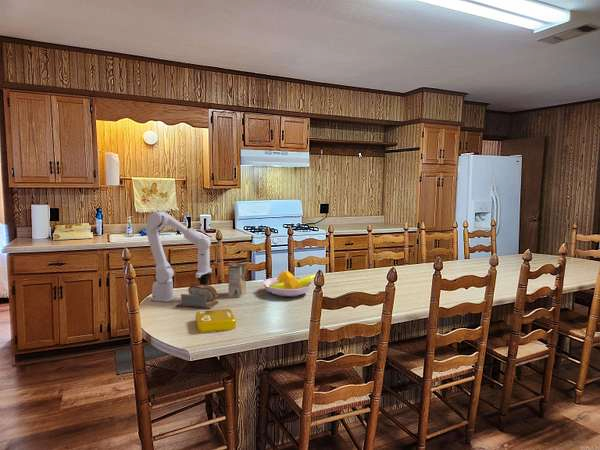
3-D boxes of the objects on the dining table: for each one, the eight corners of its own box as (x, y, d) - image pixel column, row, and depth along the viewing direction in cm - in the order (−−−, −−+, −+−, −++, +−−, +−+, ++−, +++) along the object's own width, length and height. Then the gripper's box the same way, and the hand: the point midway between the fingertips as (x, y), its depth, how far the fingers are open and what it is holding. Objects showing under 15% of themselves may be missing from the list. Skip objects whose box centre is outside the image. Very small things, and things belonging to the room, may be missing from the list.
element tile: (236, 330, 162) (236, 319, 162) (198, 334, 157) (198, 322, 157) (230, 317, 176) (230, 307, 176) (195, 321, 171) (195, 310, 171)
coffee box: (234, 292, 214) (234, 262, 212) (245, 293, 212) (246, 263, 211) (228, 297, 205) (228, 266, 203) (239, 298, 204) (240, 267, 202)
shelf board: (176, 306, 188) (176, 304, 188) (185, 300, 198) (185, 298, 198) (210, 309, 185) (210, 307, 185) (218, 302, 195) (218, 301, 195)
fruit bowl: (255, 297, 205) (256, 276, 203) (273, 284, 231) (273, 265, 229) (308, 303, 197) (309, 281, 196) (320, 289, 223) (321, 269, 222)
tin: (218, 299, 197) (216, 285, 194) (215, 303, 194) (212, 288, 191) (192, 296, 202) (189, 281, 199) (188, 299, 199) (186, 285, 196)
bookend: (181, 307, 188) (181, 294, 187) (182, 306, 189) (182, 293, 188) (205, 309, 185) (205, 296, 185) (206, 308, 187) (206, 295, 186)
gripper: (205, 265, 188) (205, 293, 190) (217, 259, 203) (217, 285, 204) (191, 264, 190) (191, 292, 191) (204, 258, 204) (204, 284, 205)
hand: (203, 288), depth 198 cm, fingers closed
